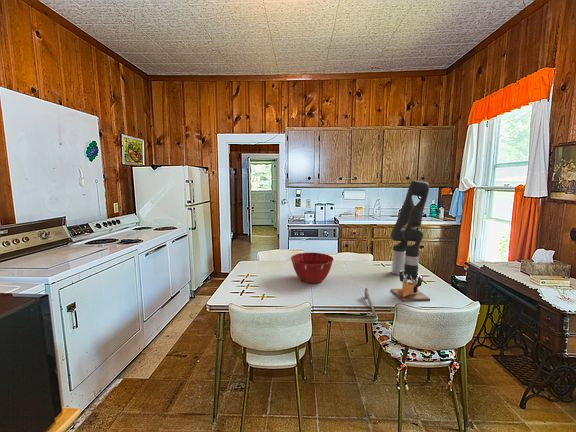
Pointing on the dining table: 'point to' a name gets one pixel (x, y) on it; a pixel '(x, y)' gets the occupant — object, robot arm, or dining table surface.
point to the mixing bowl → (312, 266)
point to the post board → (411, 296)
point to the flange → (407, 289)
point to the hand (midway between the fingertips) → (409, 290)
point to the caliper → (369, 299)
